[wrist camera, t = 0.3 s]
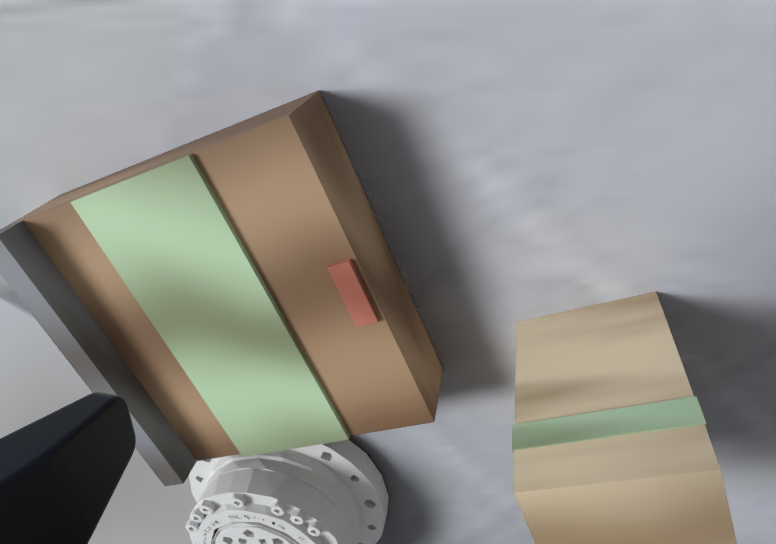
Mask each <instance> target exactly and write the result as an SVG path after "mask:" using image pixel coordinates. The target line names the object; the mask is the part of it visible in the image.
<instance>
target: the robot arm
mask: <svg viewBox="0 0 776 544" xmlns="http://www.w3.org/2000/svg"><path fill="white" fill-rule="evenodd" d="M135 444H136V436H135V431H134V427H133V423H132V420H131V416H130V412H129V408H128V404H127V401H126V400H125V399H124V398H123V397H122V396H120V395H115V394H109V393H103V392H95V393H92V394H90V395H87V396H86V397H83V398H81V399H79V400H77V401H75V402H73V403H72V404H69V405H67V406H65V407H63V408H61V409H59V410H57V411H55V412H53V413H51V414H49V415H47V416H45V417H43V418H41V419H39V420H37V421H35V422H33V423H31V424H29V425H27V426H25V427H23V428H21V429H19V430H17V431H15V432H13V433H11V434H9V435H7V436H5V437H3V438H1V439H0V544H88V542H89V540H90V538H91V536H92V534H93V532H94V530H95V528H96V526H97V524H98V522H99V520H100V518H101V516H102V514H103V512H104V510H105V508H106V506H107V504H108V502H109V500H110V498H111V496H112V494H113V492H114V490H115V488H116V486H117V484H118V482H119V480H120V478H121V476H122V474H123V472H124V470H125V468H126V467H127V465H128V463H129V460H130V458H131V457H132V454H133V452H134V449H135Z"/></svg>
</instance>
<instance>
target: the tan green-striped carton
mask: <svg viewBox="0 0 776 544" xmlns="http://www.w3.org/2000/svg"><path fill="white" fill-rule="evenodd" d="M512 450H513V453H514V495H515V497H516V500H517V502H518V504H519V507H520V509H521V511H522V514H523V516H524V518H525V521H526V523H527V525H528V528H529V530H530V532H531V534H532V537H533V539H534V541H535V544H737V542H736V538H735V533H734V529H733V524H732V519H731V515H730V510H729V505H728V501H727V496H726V491H725V487H724V482H723V478H722V473H721V469H720V466H719V463H718V461H717V458H716V455H715V452H714V450H713V447H712V444H711V441H710V438H709V433H708V429H707V424H706V421H705V418H704V415H703V413H702V410H701V407H700V405H699V402H698V399H697V396H694V395H693V392H692V389H691V386H690V384H689V381H688V378H687V375H686V373H685V370H684V367H683V364H682V362H681V359H680V356H679V353H678V351H677V348H676V345H675V342H674V340H673V337H672V334H671V331H670V329H669V326H668V323H667V320H666V318H665V315H664V312H663V309H662V307H661V304H660V301H659V298H658V296H657V293H656V292H652V293H648V294H643V295H638V296H634V297H629V298H625V299H620V300H615V301H611V302H606V303H601V304H597V305H592V306H588V307H583V308H578V309H574V310H569V311H565V312H560V313H555V314H551V315H546V316H542V317H537V318H532V319H528V320H523V321H519V322H516V377H515V424H514V425H513V432H512Z"/></svg>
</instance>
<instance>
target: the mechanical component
mask: <svg viewBox="0 0 776 544" xmlns="http://www.w3.org/2000/svg"><path fill="white" fill-rule="evenodd" d="M189 478H190V484H191V490H192V494H193V496H194V498H195V500H196V502H197V503H196V505H195V507H194V509H193V510H192V512H191V514H190V519H189V520H188V522H187V524H186V526H185V527H186V529H187V530H188V531H189V534H190V538H191V541H192V543H193V544H376V543H377V542H378V540H379V539H380V538H381V536H382V533H383V529H384V525H385V521H386V516H387V510H388V499H389V496H388V493H387V490H386V486H385V483H384V480H383V477H382V475H381V473H380V472H379V471H378V469H377V468H376V466H375V465H374V463H373V462H372V461H371V459H370V458H369V456H368V455H367V454H366V453H365V452H364V451H362V450H361V449H360V448H359V447H357V446H356V445H355V444H354V443H352V442H351V441H350V440H344V441H338V442H332V443H325V444H319V445H313V446H307V447H301V448H295V449H289V450H282V451H276V452H270V453H264V454H258V455H252V456H246V457H242V455H241V454H237V455H231V456H225V457H219V458H213V459H207V460H201V461H197V462H196V464H195V465H194V467H193V469H192V470H191V472H190V474H189Z"/></svg>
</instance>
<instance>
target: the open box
mask: <svg viewBox="0 0 776 544" xmlns="http://www.w3.org/2000/svg"><path fill="white" fill-rule="evenodd" d="M0 274H1V275H2V276H3V277H4V279H5V280H6V281H7V283H8V284H9V285H10V286H11V288H12V289H13V290H14V292H15V293H16V294H17V295H18V297H19V298H20V299H21V301H22V302H23V303H24V305H25V306H26V307H27V308H28V310H29V311H30V312H31V314H32V315H33V316H34V317H35V319H36V320H37V321H38V323H39V324H40V325H41V326H42V328H43V329H44V330H45V332H46V333H47V334H48V336H49V337H50V338H51V339H52V341H53V342H54V343H55V345H56V346H57V347H58V349H59V350H60V351H61V352H62V354H63V355H64V356H65V358H66V359H67V360H68V361H69V363H70V364H71V365H72V367H73V368H74V369H75V370H76V372H77V373H78V374H79V376H80V377H81V378H82V380H83V381H84V382H85V383H86V385H87V386H88V387H89V388H90V390H91V391H92V392H93V393H95V392H103V393H109V394H115V395H120V396H122V397H123V398H124V399H125V400H126V401H127V404H128V408H129V412H130V416H131V420H132V423H133V427H134V431H135V436H136V444H135V448H136V449H137V451H138V452H139V453H140V455H141V456H142V457H143V458H144V460H145V461H146V462H147V464H148V465H149V466H150V467H151V469H152V470H153V471H154V473H155V474H156V475H157V477H158V478H159V479H160V480H161V482H162V483H163V484H164V486H169V485H176V484H183V483H184V482H185V480H186V479H187V477H188V475H189V474H190V472H191V470H192V469H193V467H194V465H195V464H196V462H197V461H201V460H207V459H213V458H219V457H225V456H231V455H237V454H241V455H242V457H246V456H252V455H258V454H264V453H270V452H276V451H282V450H289V449H295V448H301V447H307V446H313V445H319V444H325V443H332V442H338V441H344V440H349V438H350V436H353V435H359V434H365V433H371V432H377V431H383V430H389V429H395V428H401V427H407V426H413V425H419V424H425V423H431V422H434V420H435V414H436V409H437V403H438V397H439V392H440V386H441V380H442V375H443V368H442V366H441V364H440V361H439V359H438V357H437V355H436V352H435V350H434V348H433V346H432V343H431V341H430V339H429V337H428V334H427V332H426V330H425V328H424V325H423V323H422V321H421V319H420V316H419V314H418V312H417V310H416V307H415V305H414V303H413V301H412V298H411V296H410V294H409V292H408V289H407V287H406V285H405V283H404V280H403V278H402V276H401V274H400V271H399V269H398V267H397V265H396V262H395V260H394V258H393V256H392V253H391V251H390V249H389V247H388V244H387V242H386V240H385V238H384V235H383V233H382V231H381V229H380V226H379V224H378V222H377V220H376V217H375V215H374V213H373V211H372V208H371V206H370V204H369V202H368V199H367V197H366V195H365V193H364V190H363V188H362V186H361V184H360V181H359V179H358V177H357V175H356V172H355V170H354V168H353V166H352V163H351V161H350V159H349V157H348V154H347V152H346V150H345V148H344V145H343V143H342V141H341V139H340V136H339V134H338V132H337V130H336V127H335V125H334V123H333V121H332V118H331V116H330V114H329V112H328V109H327V107H326V105H325V103H324V100H323V98H322V96H321V94H320V91H316V92H314V93H311V94H309V95H306V96H304V97H301V98H299V99H297V100H294V101H292V102H289V103H287V104H284V105H282V106H279V107H277V108H274V109H272V110H269V111H267V112H264V113H262V114H259V115H257V116H254V117H252V118H250V119H247V120H245V121H242V122H240V123H237V124H235V125H232V126H230V127H227V128H225V129H222V130H220V131H217V132H215V133H212V134H210V135H207V136H205V137H203V138H200V139H198V140H195V141H193V142H190V143H188V144H185V145H183V146H180V147H178V148H175V149H173V150H170V151H168V152H165V153H163V154H161V155H158V156H156V157H153V158H151V159H148V160H146V161H143V162H141V163H138V164H136V165H133V166H131V167H128V168H126V169H123V170H121V171H118V172H116V173H114V174H111V175H109V176H106V177H104V178H101V179H99V180H96V181H94V182H91V183H89V184H86V185H84V186H81V187H79V188H76V189H74V190H71V191H69V192H67V193H64V194H62V195H59V196H57V197H56V198H54V199H52V200H51V201H49V202H47V203H45V204H44V205H42V206H40V207H39V208H37V209H35V210H33V211H32V212H30V213H28V214H27V215H25V216H23V217H22V218H20V219H18V220H16V221H15V222H13V223H11V224H10V225H8V226H6V227H4V228H3V229H1V230H0Z"/></svg>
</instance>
